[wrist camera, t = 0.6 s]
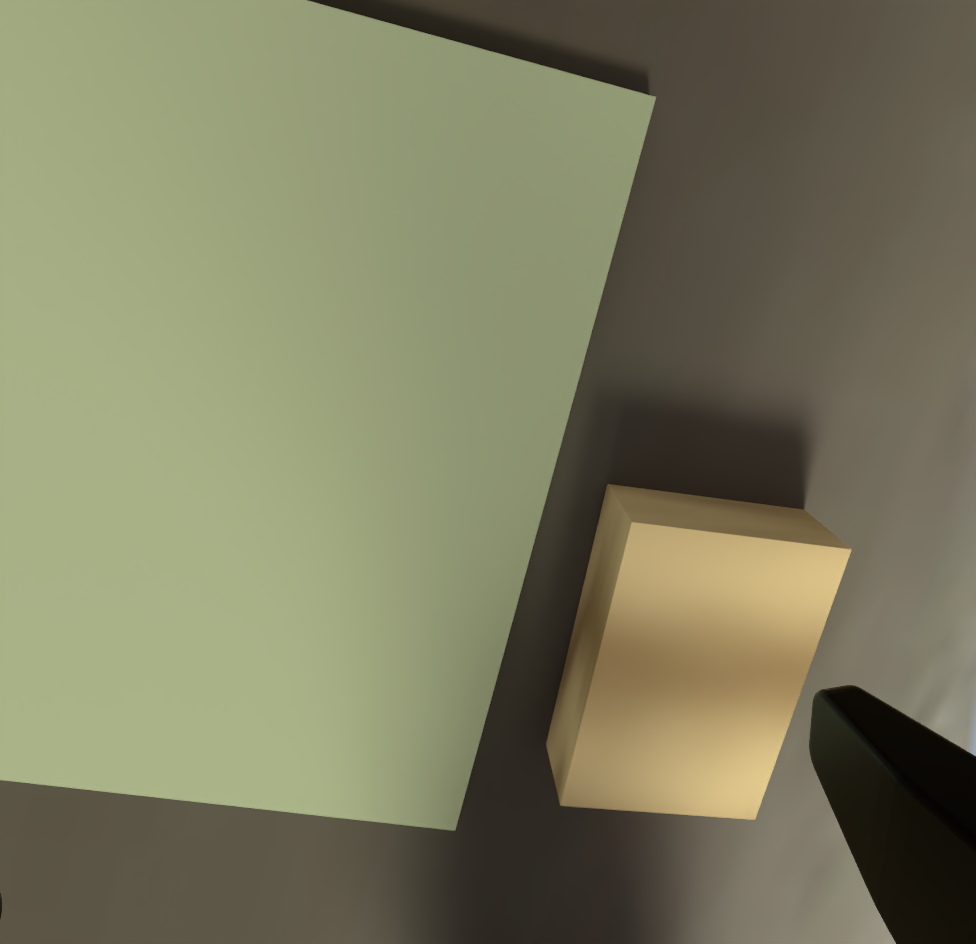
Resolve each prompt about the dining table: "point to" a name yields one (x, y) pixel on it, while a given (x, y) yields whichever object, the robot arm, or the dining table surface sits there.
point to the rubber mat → (281, 391)
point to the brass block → (689, 652)
